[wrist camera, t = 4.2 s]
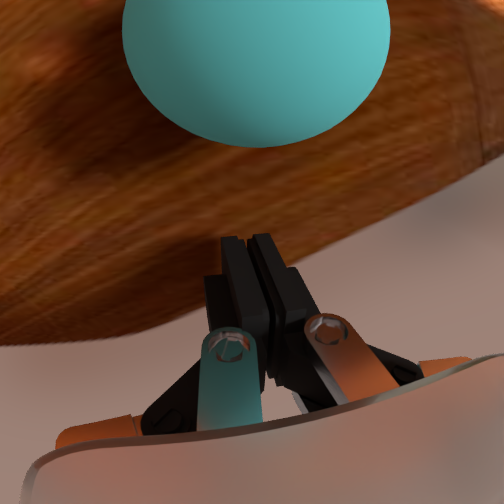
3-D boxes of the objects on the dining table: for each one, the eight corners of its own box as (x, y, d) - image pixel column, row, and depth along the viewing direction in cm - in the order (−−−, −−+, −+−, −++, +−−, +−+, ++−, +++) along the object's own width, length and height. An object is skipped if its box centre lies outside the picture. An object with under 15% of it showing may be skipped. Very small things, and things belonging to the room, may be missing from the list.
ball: (145, 130, 10) (107, 205, 5) (141, -38, 6) (105, -129, 1) (320, 122, 11) (431, 184, 6) (324, -33, 7) (442, -81, 2)
